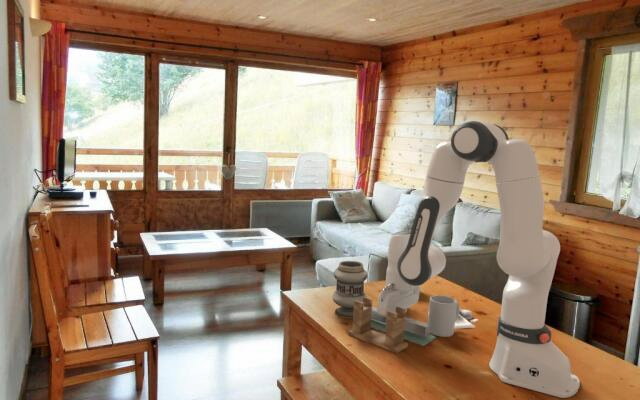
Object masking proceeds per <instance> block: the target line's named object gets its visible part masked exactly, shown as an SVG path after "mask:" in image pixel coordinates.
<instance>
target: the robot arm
mask: <svg viewBox="0 0 640 400" xmlns="http://www.w3.org/2000/svg"><path fill="white" fill-rule="evenodd" d="M473 163H489V164H490V165H491V168H492V169H493V173H494V176H495V177H494V178H495V183H496V189H497V196H498V202H499V210H500V211H499V212H500V225H499V227H500V228H499V229H500V230H499V246H498V247H497V250H496V262H497V264H498V266H499V269H501V270H502V271H503V272H504V273H505V274H507V275H508V278H507V282H506V284H505V286H504V288H503V291H502V299H501V300H502V301H501V310H500V316H499V317H498V321H497V328H496V336H497V339H496V342H495V343H496V344H495V348H494V349H493V350H494V351H493V354H492V356H491V359H490V361H489V365H488V366H489V368H490V370H492V372H494V373H495V374H496V375H497V376H498V378H499V379H500V381H501V382H503V383H506V384H509V385H514V386H517V387H520V388H525V389H528V390H531V391H535V392H539V393H543V394H546V395H549V396H554V397H557V398H560V399H565V398H566V399H567V398H570V397H573V396H574V395H575V394H577V392H578V391H579V390H580V386H581V385H580V382H581V381H580V379H579V378H578V376H577V375H575V374H574V373H573V374H572V367H571V361H570V359H569V358H568V357H569V356H567V355H566V354H565V353H563V351H562V350H561V349H560V348H559V347H558V346H557V345H555V344H554V343H553V342H552V340H551V339H552V334H553V328H550V329H549V328H548V327H547V326H546V324H545V321H546V313H547V304H548V297H549V294H550V293H549V292H550V289H551V287H552V284H553V283H552V281H553V278H554V275H555V270H556V267H557V261H558V258H559V255H560V252H561V244H560V241H559V239H558V238H557V236H556V235H555V234H554V233H552V232H551V231H549V230H548V231H547V230H546V229H543V227H544V225H543V224H544V211H545V207H546V206H545V204H546V203H545V198H544V193H543V186H542V181H541V175H540V169H539V165H538V162H537V158H536V155H535V153H534V149H533V148H532V146H531V144H530V143H529V142H528V141H526V140H524V139H520V138H512V139H509V136H508V133H507V132H506V130H504V128H502V127H501V126H499V125H498V124H497V125H496V124H493V123H490V122H488V121H481V120H479V121H478V120H471V121H466V122H463V123H461V124H459V125H458V126H457V127H456V128H454V131H453V132H452V134H451V137H450V140H449V141H442V142H440V143H438V144H437V145H436V146H435V148H434V150H433V152H432V154H431V157H430V160H429V164H428V167H427V171H426V175H425V181H424V186H423V190H422V194H421V198H420V201H419V204H418V207H417V210H416V213H415V216H414V221H413V224H412V228H411V231H410V230H409V231H408V230H405V231H397V232H395V233H393V234H392V235H391V236H390V239H389V242H388V249H387V262H388V264H387V268H386V273H385V274H386V275H385V276H386V277H385V284H386V286H384V287H383V289H382V290H381V291H380V292H379V295H378V297H377V298H378V299H377V306H376V308H377V313H378V315H381V316H384V317H387V311H391V312H396V307H400V308H403V309H406V312H407V311H408V308H409V307H411V306H413V305H415V304H417V303H418V301H419V299H420V291H421V289H420V288H421V285H424V284H425V283H426V282H427V281H428V280H430V279H433V278H434V277H436V276H438V275H439V274H440V273H442V272H443V271H444V270H445V268H446V265H447V257H446V255H445V252H444V251H443V250H442V249H441V248H440V247H439V246H437V245H432V243H433V242H432V241H433V237H434V234H435V231H436V227H437V225H438V223H439V222H440V220H441V219H443V217H444V216H445V214H446V215H447V213H448V212H449V211H451V210H452V209H453V208H454V207H455V206H456V205H457V204H458V202H459V199H460V197H461V195H462V192H463V188H464V184H465V181H466V180H465V179H466V175H467V171H468V168H469V167H470V165H471V164H473ZM578 389H579V390H578Z"/></svg>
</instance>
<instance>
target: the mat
mask: <svg viewBox="0 0 640 400" xmlns="http://www.w3.org/2000/svg"><path fill="white" fill-rule="evenodd" d="M371 329H374V330H377V331H379V332H383V333H384V334H386V323H383V322H380V321H377V320H374V319H371ZM404 340H405V341H408V342H410V343H413V344H416V345H419V346H421V347H424V346H426V345H427V344H429V343H431V342H433V341H434V340H436V335H433V334H429V335H427V336H425V337H424V336H421V335H418V334H415V333H412V332H409V331H407V330H404Z"/></svg>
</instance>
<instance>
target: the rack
mask: <svg viewBox="0 0 640 400" xmlns="http://www.w3.org/2000/svg"><path fill="white" fill-rule="evenodd" d="M372 306H373V299H372V298H370V297H363V302H360V301H357V300H355V301H354V313H353V318H352V329H350V330H348V331H347V335H348V336H350V337H353V338H356V339H359V340H362V341H364V342H366V343H369V344H372V345H374V346H376V347H379V348H382V349H385V350H387V351H390V352H393V353H396V354H398V353H400V352H402V351H404V350H405V349H407V348H408V347H409V343H408V342H405V341H404V328H405V317H406V313H407V311H406V309H403V308H400V307H396V312H391V311H387V321H386V333H384V334H383V333H381V332H378V331H375V330H372V328H371V314H372Z"/></svg>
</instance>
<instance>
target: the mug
mask: <svg viewBox="0 0 640 400" xmlns="http://www.w3.org/2000/svg"><path fill="white" fill-rule="evenodd" d="M428 306H429V307H428V312H429V316H428V318H427V324H430V335H432V336H435V337H436V336H437V337H442V338H449V337H452V336H453V335H454V334H455V329H454V327H455V321H456V320H457V318H458V316H459V310H460V309H461V307H460V303H459V302H458V301H457V300H456V299H455V298H454V297H451V296H448V295H442V294H438V295H437V294H435V295H431V296H430V298H429V305H428Z"/></svg>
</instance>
